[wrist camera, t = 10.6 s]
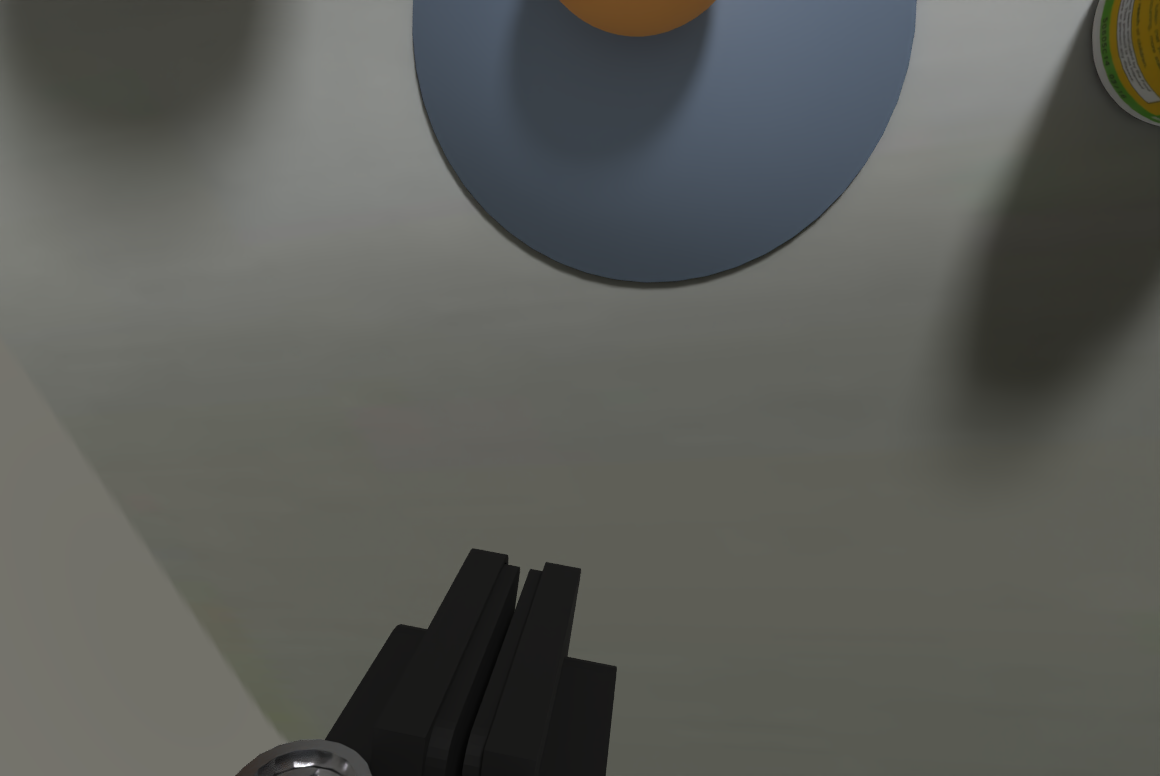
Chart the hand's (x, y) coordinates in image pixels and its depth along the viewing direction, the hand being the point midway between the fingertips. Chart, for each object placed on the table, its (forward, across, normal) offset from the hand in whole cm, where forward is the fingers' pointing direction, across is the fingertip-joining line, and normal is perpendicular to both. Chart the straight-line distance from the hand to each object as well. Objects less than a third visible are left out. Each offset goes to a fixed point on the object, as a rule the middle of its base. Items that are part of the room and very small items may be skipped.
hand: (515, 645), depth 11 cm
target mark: (+13, 0, -11) cm, 17 cm away
